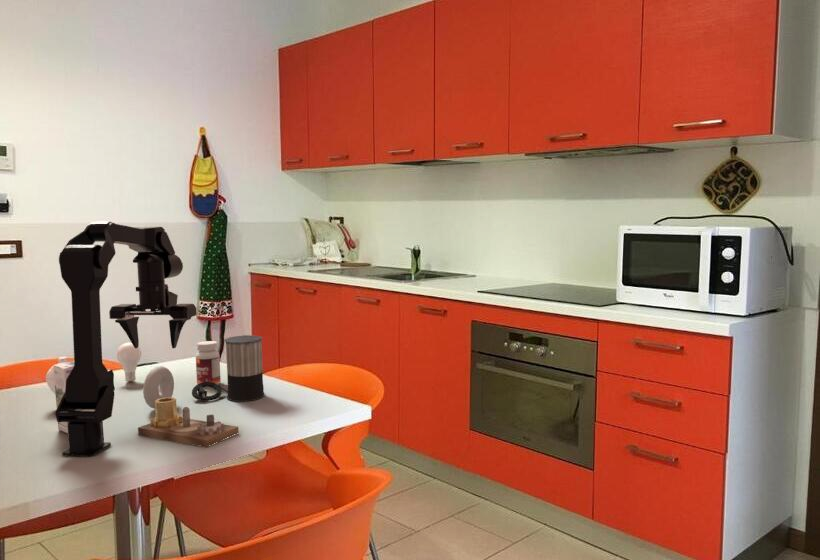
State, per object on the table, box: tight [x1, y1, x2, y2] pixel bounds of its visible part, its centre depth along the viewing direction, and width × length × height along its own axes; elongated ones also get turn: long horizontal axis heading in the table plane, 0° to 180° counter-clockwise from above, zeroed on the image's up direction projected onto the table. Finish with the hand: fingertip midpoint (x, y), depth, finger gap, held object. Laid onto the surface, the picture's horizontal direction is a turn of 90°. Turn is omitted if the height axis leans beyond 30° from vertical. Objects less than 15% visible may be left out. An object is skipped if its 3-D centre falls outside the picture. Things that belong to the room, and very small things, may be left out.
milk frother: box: [191, 334, 266, 402], centre depth 169 cm, size 14×16×15 cm
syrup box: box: [52, 360, 94, 435], centre depth 145 cm, size 6×6×14 cm
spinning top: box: [45, 356, 68, 396], centre depth 164 cm, size 8×8×12 cm
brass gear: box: [150, 397, 183, 428], centre depth 144 cm, size 6×6×5 cm
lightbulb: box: [115, 341, 142, 383], centre depth 187 cm, size 6×6×11 cm
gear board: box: [137, 406, 240, 448], centre depth 141 cm, size 19×9×6 cm, turn 63°
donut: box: [142, 365, 175, 410], centre depth 161 cm, size 10×4×10 cm, turn 168°
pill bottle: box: [195, 340, 222, 385], centre depth 183 cm, size 6×6×11 cm
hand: (155, 348), depth 159 cm, fingers open, 9 cm apart
